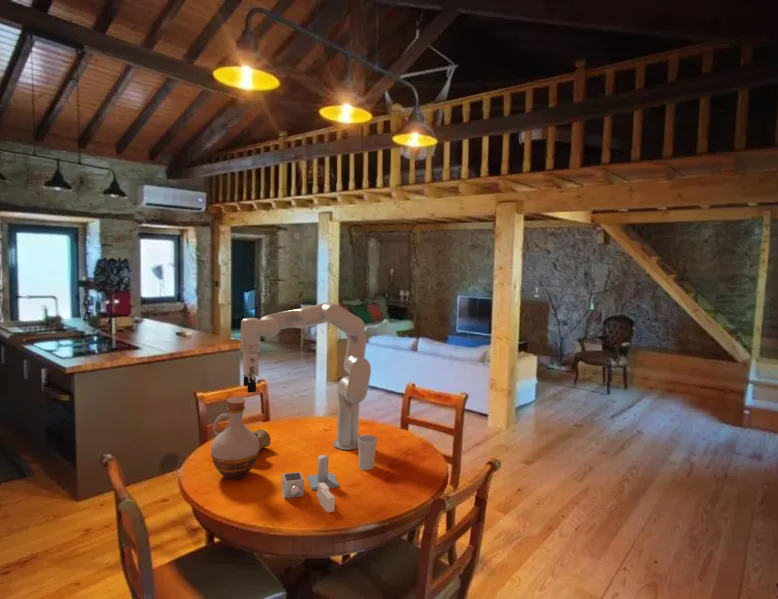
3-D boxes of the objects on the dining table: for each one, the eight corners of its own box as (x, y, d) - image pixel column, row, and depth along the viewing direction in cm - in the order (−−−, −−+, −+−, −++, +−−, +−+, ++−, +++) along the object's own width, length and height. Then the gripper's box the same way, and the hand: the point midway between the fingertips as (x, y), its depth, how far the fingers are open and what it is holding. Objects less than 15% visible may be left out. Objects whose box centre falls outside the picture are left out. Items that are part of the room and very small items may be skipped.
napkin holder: (338, 517, 159) (338, 500, 158) (304, 514, 160) (305, 497, 159) (346, 495, 174) (347, 480, 173) (316, 492, 175) (316, 477, 174)
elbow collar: (281, 489, 175) (282, 473, 174) (300, 487, 177) (300, 471, 177) (285, 503, 165) (285, 486, 164) (305, 501, 167) (305, 484, 167)
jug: (196, 479, 180) (196, 401, 178) (228, 461, 197) (229, 389, 194) (238, 490, 173) (239, 409, 170) (268, 470, 190) (269, 396, 187)
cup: (380, 467, 197) (381, 438, 196) (366, 473, 191) (367, 443, 190) (366, 461, 202) (367, 433, 201) (352, 466, 196) (353, 438, 195)
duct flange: (332, 475, 188) (333, 450, 187) (338, 487, 178) (339, 461, 177) (307, 478, 184) (307, 453, 184) (311, 490, 175) (312, 464, 174)
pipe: (272, 448, 212) (273, 426, 211) (255, 463, 196) (255, 439, 195) (253, 445, 214) (254, 424, 213) (235, 460, 198) (235, 437, 197)
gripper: (263, 351, 190) (263, 393, 192) (255, 344, 206) (254, 382, 207) (244, 352, 187) (243, 395, 188) (237, 344, 202) (237, 384, 204)
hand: (249, 388), depth 198 cm, fingers open, 9 cm apart
